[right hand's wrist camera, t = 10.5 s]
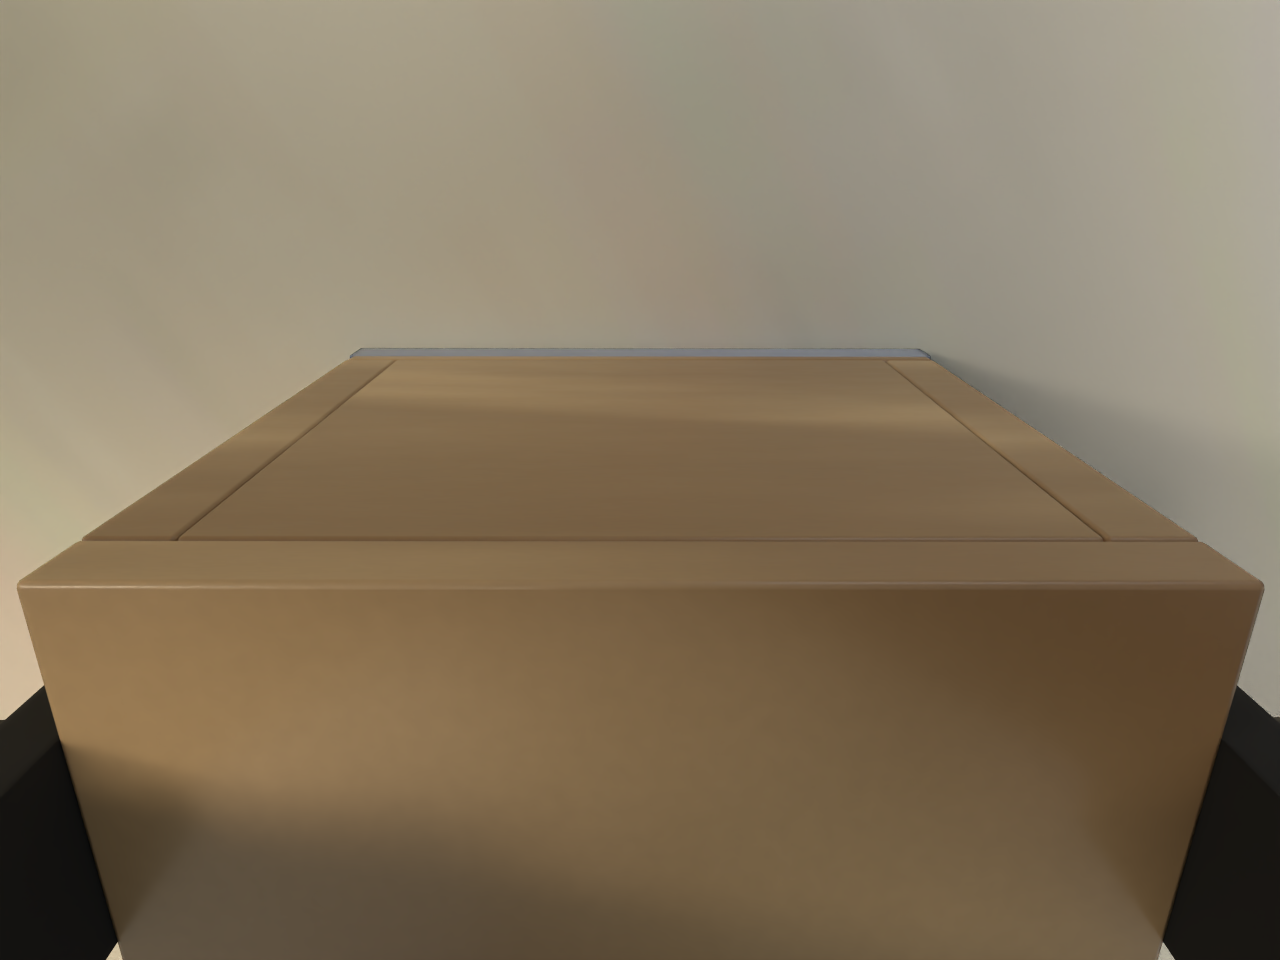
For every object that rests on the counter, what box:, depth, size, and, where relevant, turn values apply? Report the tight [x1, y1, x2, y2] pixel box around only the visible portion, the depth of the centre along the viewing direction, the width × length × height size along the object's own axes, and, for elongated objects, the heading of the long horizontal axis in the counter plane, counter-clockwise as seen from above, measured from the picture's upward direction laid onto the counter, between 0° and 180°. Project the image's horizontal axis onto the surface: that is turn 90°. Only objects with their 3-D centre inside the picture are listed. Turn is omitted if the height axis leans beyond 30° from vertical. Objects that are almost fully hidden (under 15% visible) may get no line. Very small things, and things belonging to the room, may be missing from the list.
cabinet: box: [17, 348, 1264, 960], centre depth 16 cm, size 17×12×10 cm
